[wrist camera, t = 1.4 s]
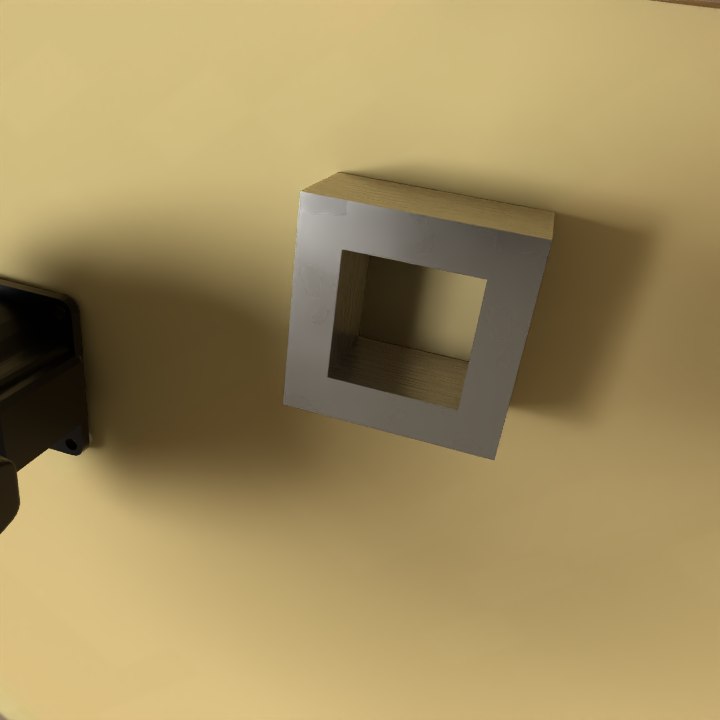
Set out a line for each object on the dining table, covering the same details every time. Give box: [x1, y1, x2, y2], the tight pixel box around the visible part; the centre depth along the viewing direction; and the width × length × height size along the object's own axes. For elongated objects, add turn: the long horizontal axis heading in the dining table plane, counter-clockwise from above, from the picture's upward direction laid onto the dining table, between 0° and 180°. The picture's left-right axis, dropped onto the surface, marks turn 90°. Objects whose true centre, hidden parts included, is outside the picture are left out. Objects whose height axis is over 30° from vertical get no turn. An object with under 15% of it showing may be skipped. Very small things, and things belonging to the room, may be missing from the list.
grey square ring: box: [283, 172, 555, 460], centre depth 18 cm, size 6×6×3 cm
